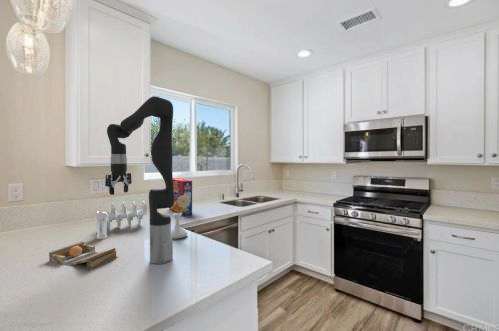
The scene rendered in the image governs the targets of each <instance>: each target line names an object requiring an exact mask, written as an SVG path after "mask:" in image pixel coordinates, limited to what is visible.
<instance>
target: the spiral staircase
mask: <svg viewBox="0 0 499 331" xmlns="http://www.w3.org/2000/svg"><path fill="white" fill-rule="evenodd" d="M120 207H121V209H120V212H117V210H116V206H115V202H112V204H111V207H110V209H111V212H110V213H109V226H108V231H110V229H111V223H112V222H113V221H115V222H116V223H117V224H116V226H117V227H118V229H121V225H122V224H121V223H122V222H121V221H122V220H123V219H126V220H127V224H128V227H129V229H131V228H132V227H131V226H132V221H133V220H134V218H136V219H137V224H138V226H139V227H141V223H142V222H141V220H143V217H144V216H147V211H148V208H147V204H146V201H145V200H142V201H141V204H140V209H138V208H137V204H136V201H135V200H134V201H132V203H131V206H130V207H131V208H130V209H131V210H130V211H128V209H127V206H126V204H125V201H122V202H121V206H120Z"/></svg>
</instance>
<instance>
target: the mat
mask: <svg viewBox="0 0 499 331" xmlns="http://www.w3.org/2000/svg"><path fill="white" fill-rule="evenodd" d="M96 253H99V252H97V251H96V250H95V251H93V252H92V251H90V252H86V251H82V253H81V254H80V255H79V256H77V257H71V256H70V255H69V256H66V262H64V263H63V264H62V265H63V266H67V267H72V268H75V269H79V270H83V271H88V272H89V271H91V270H94V269H95V268H93V269H89V268H87V262H83V263H79V264H76V265H73V264H71V263H73V262H76V261H78V260H81V259H83V258H86V257H88V256H91V255H93V254H96ZM118 258H119V256H117V255H116V259H118ZM113 260H115V259H113ZM113 260H112V261H113ZM105 264H106V263H104V264H102V265H105ZM102 265H101V266H102Z"/></svg>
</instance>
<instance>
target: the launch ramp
mask: <svg viewBox="0 0 499 331" xmlns="http://www.w3.org/2000/svg"><path fill="white" fill-rule="evenodd" d="M116 250H117V249H116V248H114V247H113V248H110V249H107V250H103V251H100V252H98V253H96V254H93V255H91V256H88V257H86V258H83V259H81V260H78V261H76V262H73V263H71V264H73V265H76V264H79V263H83V262H87V268H89V269H91V270H94V269H96V268H99V267H100V266H102V264H103V265H105V264H107V263H109V262H111V261H113V259H114V260H116V259H117V258H116V256H117V251H116ZM104 263H105V264H104ZM93 268H94V269H93Z"/></svg>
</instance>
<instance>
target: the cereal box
mask: <svg viewBox="0 0 499 331" xmlns="http://www.w3.org/2000/svg"><path fill="white" fill-rule="evenodd" d="M173 187H174V205H173V207H171V208H168V210H169V211H170V212H173V213H174V214H175V213H181V214H182V215H181V216H182V217H187V216H192V215H193V180H190V179H184V178H179V177H175V178H174V177H173ZM182 195H185V196H187V197H188V198H189V200H190V205H189V206H188V207H187V206H186V208H187V209H188V211H185V212H184V211H182V209H181V208H183V207H179V205H178V204H177V200H178V197H180V196H182ZM174 209H175V210H178V211H180V210H181V211H180V212H178V211H175V210H174ZM181 216H180V217H181Z"/></svg>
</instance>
